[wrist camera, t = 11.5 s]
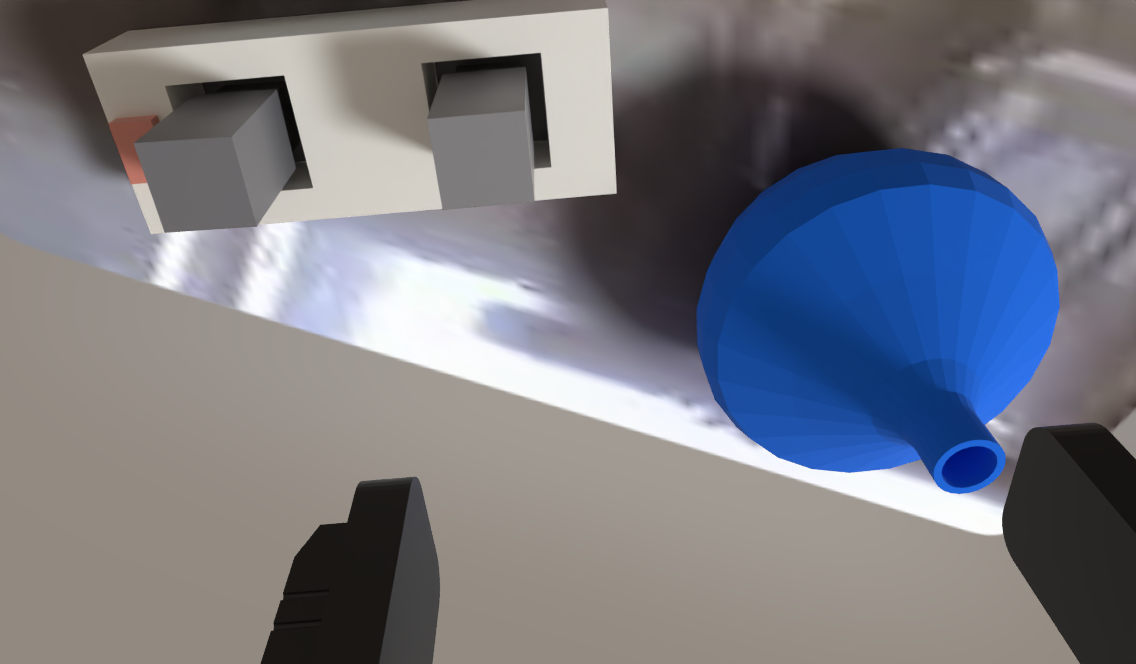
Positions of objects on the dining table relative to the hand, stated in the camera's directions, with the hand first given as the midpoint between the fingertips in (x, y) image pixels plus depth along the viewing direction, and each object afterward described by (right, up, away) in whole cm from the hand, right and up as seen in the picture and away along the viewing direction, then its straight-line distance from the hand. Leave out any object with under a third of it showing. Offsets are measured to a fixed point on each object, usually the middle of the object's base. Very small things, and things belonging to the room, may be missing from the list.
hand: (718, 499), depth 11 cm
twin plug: (-6, +15, +32) cm, 36 cm away
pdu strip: (-12, +15, +33) cm, 38 cm away
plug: (-18, +14, +32) cm, 39 cm away
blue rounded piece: (+14, +7, +39) cm, 42 cm away
